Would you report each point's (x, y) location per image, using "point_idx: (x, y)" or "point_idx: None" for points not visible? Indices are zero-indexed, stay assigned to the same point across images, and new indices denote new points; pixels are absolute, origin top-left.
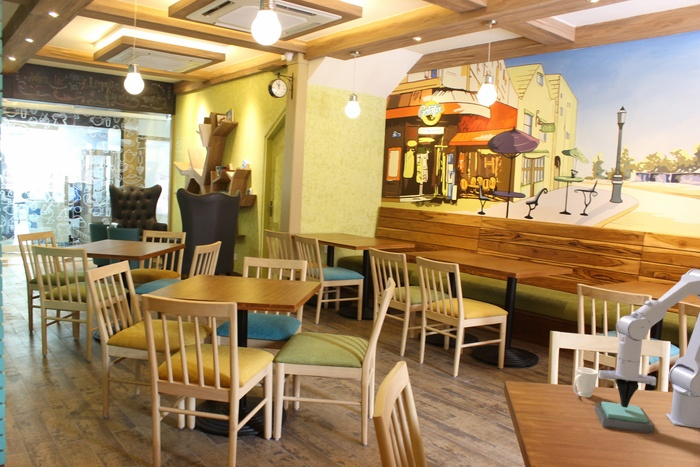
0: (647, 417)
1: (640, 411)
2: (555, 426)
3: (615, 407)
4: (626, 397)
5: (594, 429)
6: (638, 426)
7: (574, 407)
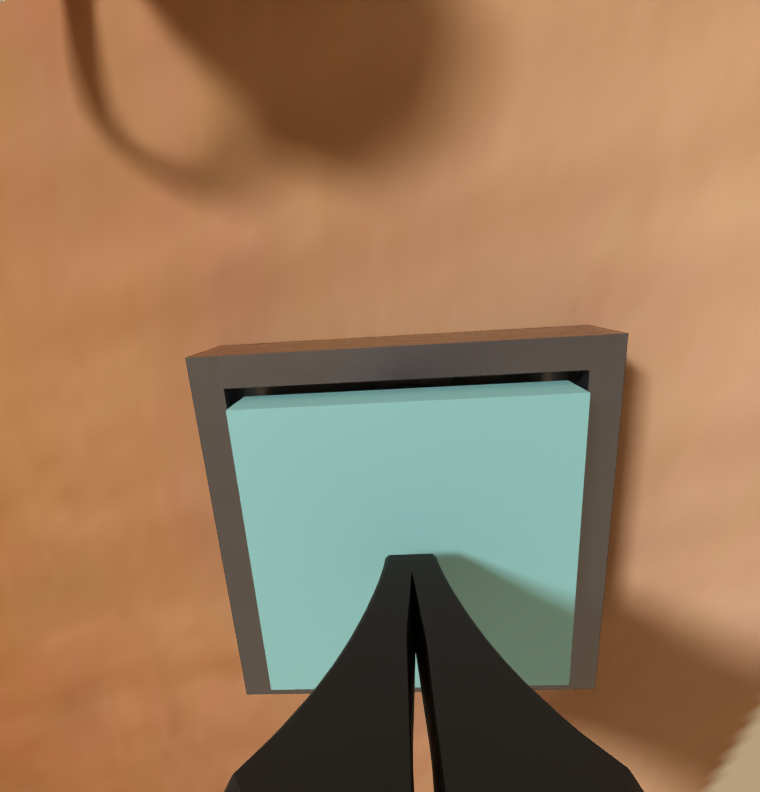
0: (596, 554)
1: (561, 537)
2: (12, 718)
3: (344, 528)
4: (427, 712)
5: (217, 683)
6: None
7: (66, 341)
